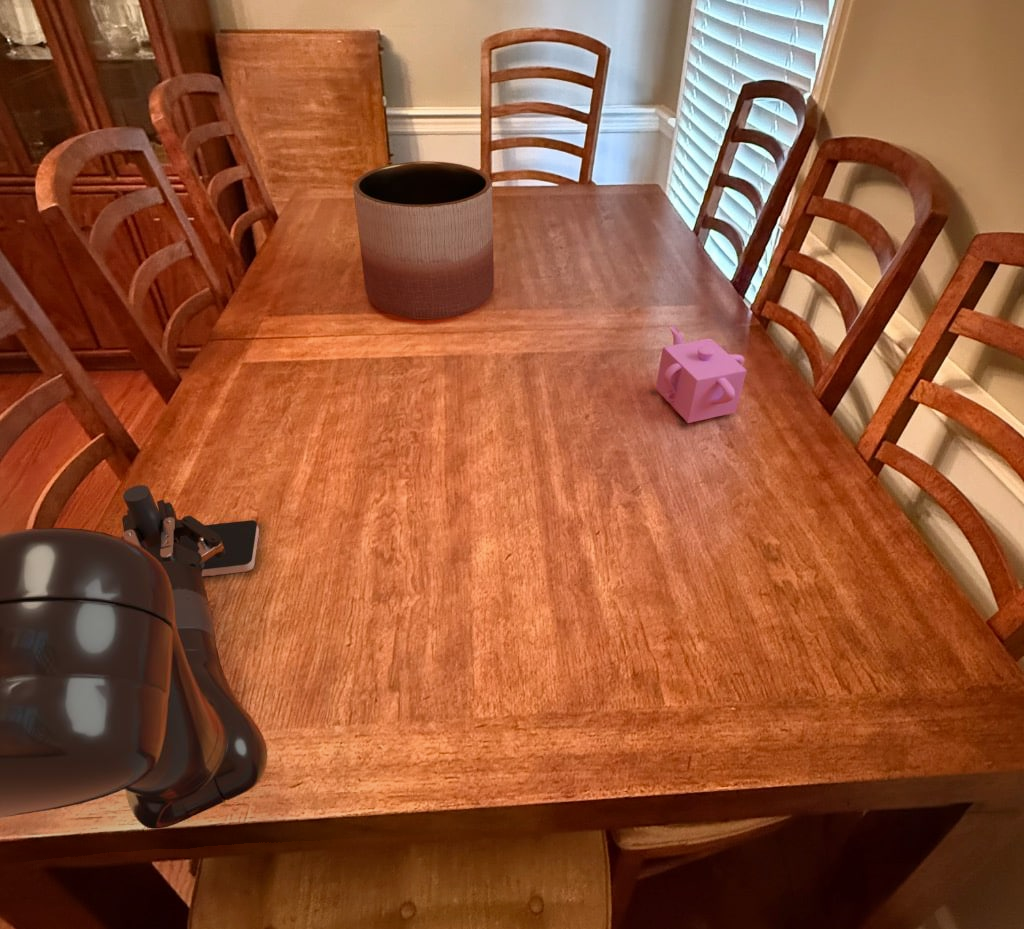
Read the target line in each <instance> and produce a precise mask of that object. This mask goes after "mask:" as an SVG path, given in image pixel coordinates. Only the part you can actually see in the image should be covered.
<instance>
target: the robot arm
mask: <svg viewBox="0 0 1024 929" xmlns="http://www.w3.org/2000/svg"><path fill="white" fill-rule="evenodd" d="M156 506H157V508H158V511H159V513H160V515H161V518H160V519H161V522H162V524H163V532H161V543H159V544H157V545H155V546H153V547H147V548H143V547H142V545H141V542H143V538H142V536H141V534H140V532H139V530H138V528H137V526H136V524H135V522H134V520H133V518H132V516H131V513H130V511H129V509H127V510H126V513H127V514H124V515H123V516H122V518H121V521H122V522H121V523H122V528H123V533H122V536H121V537H120V536H116V535H114V534H110V533H107V532H102V531H95V530H91V529H86V528H85V529H83V528H69V527H38V528H27V529H20V530H19V529H18V530H15V531H11V532H5V533H2V534H0V819H2V818H3V819H4V818H9V817H16V816H23V815H27V814H33V813H39V812H40V813H41V812H46V811H52V810H58V809H62V808H67V807H72V806H76V805H77V806H78V805H82V804H84V803H88V802H91V801H96V800H100V799H103V798H105V797H108V796H110V795H114V794H115V793H119V792H121V791H123V790H125V795H126V799H127V802H128V806H129V808H130V810H131V812H132V814H133V816H134V817H135V819H136V820H137V821H138V822H139V823H140V824H141V825H142V826H144V827H146V828H147V829H153V830H158V829H164V828H168V827H172V826H174V825H177V824H179V823H182V822H184V821H186V820H189V819H191V818H192V817H195V816H197V815H199V814H202V813H203V812H206V811H209V810H210V809H212V808H215V807H217V806H219V805H221V804H223V803H226V801H230V800H232V799H234V798H237V797H239V796H241V795H244V794H246V793H248V792H249V791H251V790H253V789H254V788H255V787H256V786H257V785H258V784H259V782H261V780H262V778H263V776H264V774H265V771H266V768H267V764H268V748H267V744H266V740H265V737H264V735H263V733H262V731H261V730H260V728H259V726H258V725H257V723H256V722H255V720H254V719H253V718H252V716H251V715H250V714H249V712H248V711H247V710H246V709H245V707H244V706H243V705H242V704H241V702H240V701H239V699H238V697H237V696H236V695H235V693H234V691H233V690H232V688H231V686H230V685H229V683H228V682H229V681H228V680H227V678H226V676H225V675H226V674H225V672H224V669H223V666H222V663H221V659H220V658H221V657H220V654H219V649H218V647H217V646H218V645H217V641H216V629H215V623H214V613H213V611H212V609H211V606H210V601H209V598H208V594H207V590H206V586H205V582H204V579H203V577H202V571H203V569H204V562H205V561H206V560H208V559H209V558H210V557H212V556H215V557H222V556H223V555H224V554H225V549H224V547H223V544H222V541H221V539H220V536H219V535H218V534H217V533H215V532H214V531H212V530H211V529H209V528H208V527H206V526H205V525H206V524H203V523H202V522H201V521H199V520H198V519H196V518H195V517H194V516H191V515H185V516H183V517H182V518H181V519H177V513H176V510H175V508H174V506H173V503H171V502H170V501H169V502H165V500H164V499H160V500H157V501H156ZM181 536H188V538H190V539H191V540H192V541H194V542H195V543H197V544H198V547H199V551H198V552H197V551H195V550H192V549H190V548H188V547H186V546H183V545H181Z"/></svg>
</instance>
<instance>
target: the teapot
mask: <svg viewBox="0 0 1024 929" xmlns="http://www.w3.org/2000/svg"><path fill="white" fill-rule="evenodd" d="M670 332H671V334H672V338H673V340H672V341H673V342H672V344H671V345H666V346H663V347H662V350H661V356H660V360H659V367H658V373H657V378H656V385H655V389H656V391H658V393H659V394H660V395H661V396H662V397H663V398H664V399H665V401H666V402H668V403H669V404H670V406H671V407H672V408H673V409H674V410H675V411H676V412H677V413H678V414H679V415H680V416H681V418H683V420H684V421H685V422H686V423H687V424H690V423H695V422H700V421H703V420H708V419H713V418H717V417H722V416H727V415H731V414H734V413H737V410H738V406H739V402H740V399H741V395H742V391H743V387H744V383H745V379H746V376H747V372H748V370H747V369H746V368H745V367H744V364H745V361H746V360H745V357H744V356H743V355H741V354H736V353H735V354H733V353H732V354H729V353H728V352H727V351H726V350H725V349H723V347H721V346H720V345H719V344H718V343H717V342H715V341H714V340H713V339H712V338H710V337H708V338H704V339H699V340H693V341H687V342H684V340H683V336H682V333H681V331H680V330H679V329H678V328H677V327H675V326H670Z"/></svg>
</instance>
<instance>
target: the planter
mask: <svg viewBox="0 0 1024 929" xmlns="http://www.w3.org/2000/svg"><path fill="white" fill-rule="evenodd" d="M352 189H353V190H352V191H353V199H354V207H355V214H356V221H357V229H358V238H359V239H358V240H359V247H360V248H359V249H360V257H361V265H362V274H363V282H364V288H365V293H366V296H367V299H368V300H369V302H370V303H371V304H372V305H373V306H374V307H376V308H377V309H378V310H381V311H382V312H384V313H387V314H389V315H392V316H395V317H398V318H403V319H407V320H414V321H438V320H447V319H452V318H455V317H459V316H463V315H466V314H469V313H470V312H472V311H475V310H477V309H478V308H480V307H481V306H483V305H484V304H485V303H487V302H488V300H489V299H490V298H491V297H492V295H493V292H494V285H495V265H494V264H495V263H494V262H495V260H494V224H493V222H494V221H493V219H494V218H493V217H494V216H493V182H492V179H491V178H490V175H488V174H487V173H485V172H484V171H482V170H479V169H478V168H474V167H472V166H469V165H465V164H460V163H454V162H446V161H434V160H432V161H429V160H427V161H426V160H425V161H407V162H406V161H405V162H397V163H392V164H387V165H382V166H379V167H376V168H373V169H371V170H368V171H365V172H364V173H362V174H361V175H359V176H358V177H357V178H356V179H355V180H354V182H353V185H352Z"/></svg>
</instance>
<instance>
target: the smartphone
mask: <svg viewBox="0 0 1024 929" xmlns="http://www.w3.org/2000/svg"><path fill="white" fill-rule="evenodd" d="M204 525H205V526H206V527H208V528H209V529H211V530H212V531H214V532H215V533H217V534H218V535H219V536H220V539H221V541H222V544H223V547H224V549H225V554H224V555H223V556H222V557H215V556H212V557H210V558H209V559H208V560H206V561H205V562H204V569H203V571H202V578H203V577H204V578H205V577H212V576H213V577H214V576H221V575H231V574H237V573H246V572H250V571H251V570H253V569H254V567H255V563H256V555H257V551H258V550H257V549H258V542H259V534H260V528H259V525H258V523H257V521H256V520H254V519H252V520H251V519H250V520H240V521H232V522H231V521H230V522H221V523H213V524H204ZM141 545H142V547H143V548H146V546H145V543H144V541H143V542H141ZM181 545H183V546H186V547H188V548H190V549H192V550H195V551H197V552H198V551H199V547H198V544H197V543H195V542H194V541H192V540H191V539H190V538H188V536H181Z"/></svg>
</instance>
